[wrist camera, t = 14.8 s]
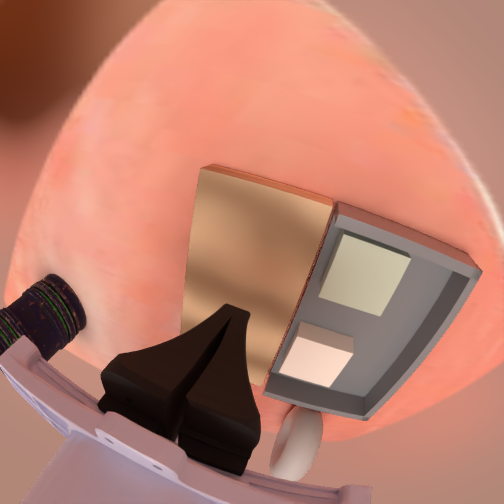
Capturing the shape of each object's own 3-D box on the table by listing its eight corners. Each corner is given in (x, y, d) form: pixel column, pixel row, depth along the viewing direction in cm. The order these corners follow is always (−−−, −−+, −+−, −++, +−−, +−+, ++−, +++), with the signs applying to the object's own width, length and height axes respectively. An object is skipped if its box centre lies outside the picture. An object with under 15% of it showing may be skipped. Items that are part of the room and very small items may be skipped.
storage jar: (91, 339, 36) (31, 403, 23) (51, 311, 37) (-6, 362, 24) (82, 290, 31) (3, 359, 18) (40, 262, 32) (-32, 314, 19)
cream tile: (330, 371, 25) (328, 387, 23) (282, 357, 25) (278, 372, 24) (353, 337, 22) (353, 353, 21) (300, 320, 23) (297, 336, 21)
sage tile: (377, 301, 20) (380, 316, 19) (320, 282, 21) (318, 296, 19) (404, 246, 18) (411, 258, 16) (342, 223, 19) (343, 234, 17)
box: (366, 399, 26) (366, 421, 23) (269, 373, 27) (262, 394, 25) (467, 253, 17) (482, 272, 14) (337, 201, 18) (339, 213, 16)
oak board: (265, 372, 28) (261, 386, 26) (187, 342, 29) (179, 354, 27) (332, 199, 19) (332, 207, 17) (211, 164, 20) (200, 168, 18)
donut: (301, 429, 31) (286, 493, 23) (277, 422, 32) (258, 486, 23) (332, 391, 26) (321, 473, 18) (303, 383, 27) (284, 465, 18)
